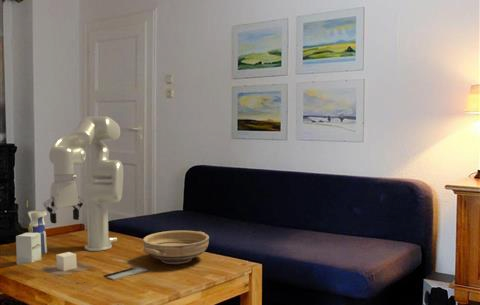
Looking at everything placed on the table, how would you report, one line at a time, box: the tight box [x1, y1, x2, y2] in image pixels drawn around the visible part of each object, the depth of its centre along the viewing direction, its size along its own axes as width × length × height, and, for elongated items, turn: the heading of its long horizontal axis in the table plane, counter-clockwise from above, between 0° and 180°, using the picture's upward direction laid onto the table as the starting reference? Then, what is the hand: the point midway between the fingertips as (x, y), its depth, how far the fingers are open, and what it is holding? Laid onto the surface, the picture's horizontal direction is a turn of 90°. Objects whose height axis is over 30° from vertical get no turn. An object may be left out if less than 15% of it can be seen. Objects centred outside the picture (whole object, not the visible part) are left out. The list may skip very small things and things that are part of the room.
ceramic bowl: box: [142, 230, 210, 265], centre depth 221 cm, size 37×29×10 cm
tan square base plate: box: [39, 261, 96, 277], centre depth 205 cm, size 16×16×5 cm
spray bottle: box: [26, 199, 48, 255], centre depth 235 cm, size 8×9×25 cm
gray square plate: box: [103, 266, 148, 281], centre depth 205 cm, size 16×16×1 cm
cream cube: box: [55, 251, 78, 271], centre depth 205 cm, size 6×6×6 cm
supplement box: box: [15, 232, 42, 266], centre depth 218 cm, size 7×7×13 cm
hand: (65, 221), depth 204 cm, fingers open, 9 cm apart
